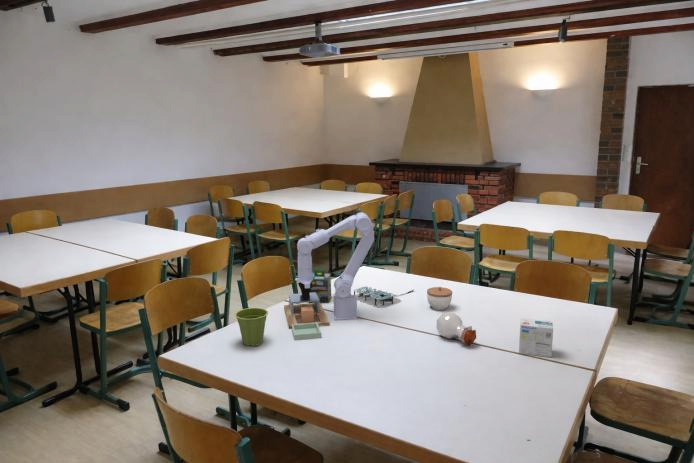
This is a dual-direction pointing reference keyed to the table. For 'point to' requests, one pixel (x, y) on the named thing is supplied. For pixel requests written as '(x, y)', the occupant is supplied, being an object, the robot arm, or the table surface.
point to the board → (296, 317)
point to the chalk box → (321, 285)
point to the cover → (298, 299)
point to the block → (307, 314)
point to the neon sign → (376, 297)
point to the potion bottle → (455, 328)
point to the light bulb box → (536, 337)
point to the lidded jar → (439, 297)
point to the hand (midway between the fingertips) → (305, 299)
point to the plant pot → (252, 325)
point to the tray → (306, 331)
